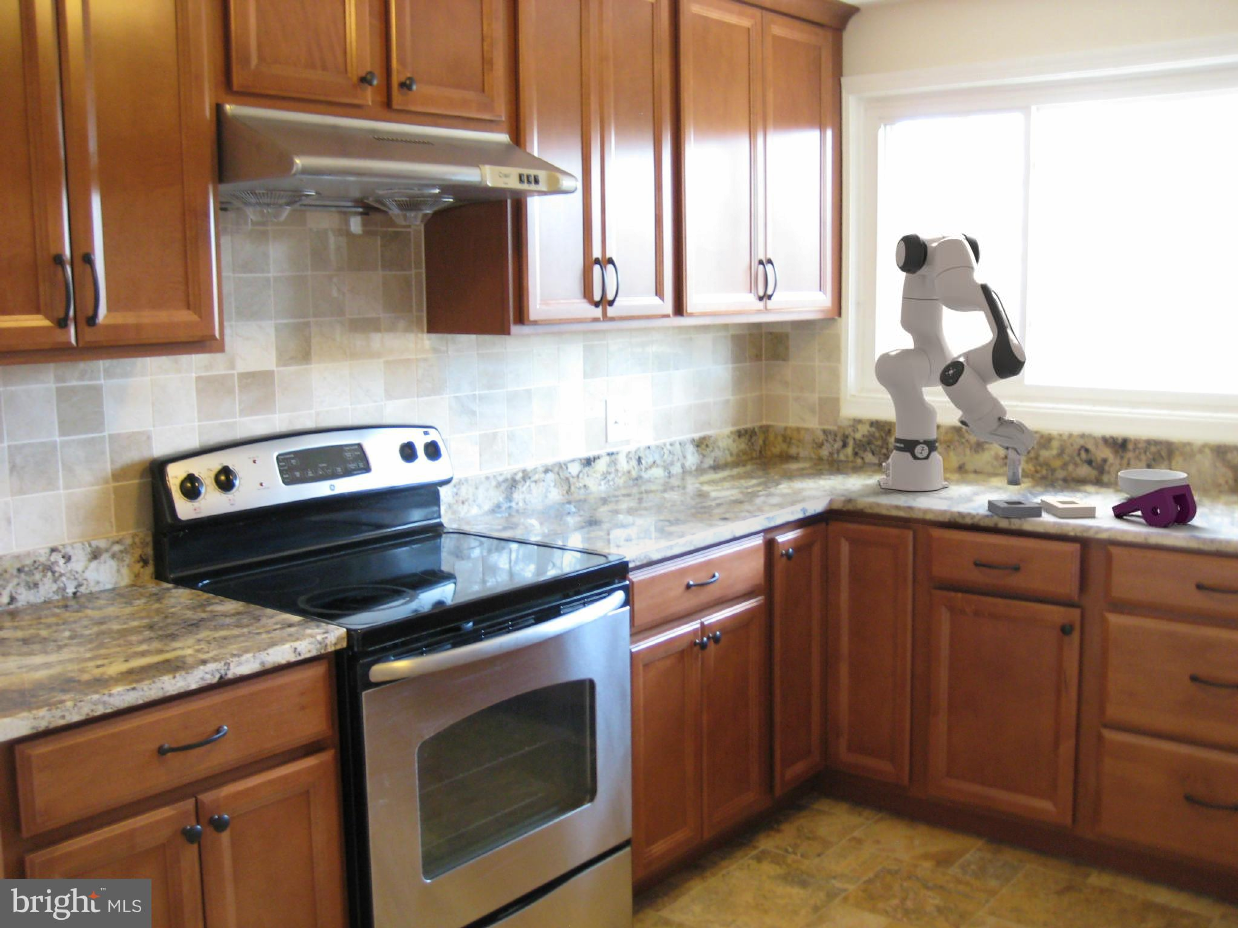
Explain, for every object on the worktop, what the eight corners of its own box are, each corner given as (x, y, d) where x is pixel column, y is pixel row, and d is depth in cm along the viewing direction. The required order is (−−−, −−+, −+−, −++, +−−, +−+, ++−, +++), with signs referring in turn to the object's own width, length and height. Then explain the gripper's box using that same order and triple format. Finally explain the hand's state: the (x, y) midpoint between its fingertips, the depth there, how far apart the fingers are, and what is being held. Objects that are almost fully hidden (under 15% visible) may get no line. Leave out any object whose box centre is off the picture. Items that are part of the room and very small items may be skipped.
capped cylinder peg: (1004, 483, 302) (1007, 423, 299) (1018, 482, 302) (1021, 423, 300) (1009, 485, 299) (1012, 425, 296) (1022, 485, 299) (1026, 425, 296)
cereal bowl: (1121, 492, 327) (1122, 466, 326) (1189, 497, 318) (1190, 470, 317) (1112, 503, 312) (1113, 476, 311) (1183, 508, 304) (1184, 480, 303)
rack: (1040, 508, 306) (1040, 498, 306) (1075, 507, 307) (1075, 497, 306) (1059, 517, 294) (1059, 507, 294) (1095, 516, 295) (1095, 506, 294)
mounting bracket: (1114, 542, 293) (1173, 522, 278) (1103, 509, 295) (1161, 487, 280) (1141, 538, 297) (1201, 518, 282) (1130, 505, 299) (1189, 483, 284)
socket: (987, 509, 306) (987, 499, 305) (1026, 508, 306) (1026, 499, 306) (1001, 517, 296) (1001, 507, 296) (1041, 516, 296) (1042, 506, 296)
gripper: (1023, 411, 285) (1054, 449, 290) (968, 401, 304) (998, 437, 309) (1007, 430, 284) (1038, 468, 289) (953, 420, 303) (983, 455, 308)
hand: (1017, 452), depth 299 cm, fingers closed on capped cylinder peg, 3 cm apart
